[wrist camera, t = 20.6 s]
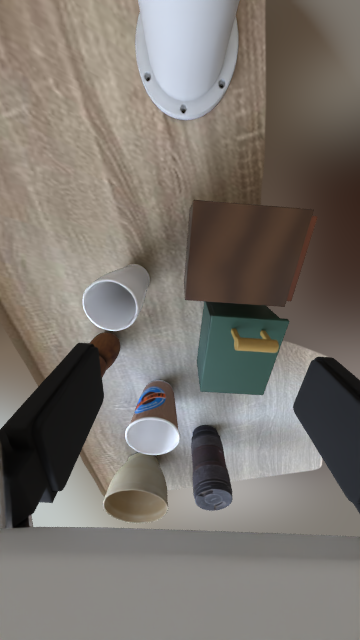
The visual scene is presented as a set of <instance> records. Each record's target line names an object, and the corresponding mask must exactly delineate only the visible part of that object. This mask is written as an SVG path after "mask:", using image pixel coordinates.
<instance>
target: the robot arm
mask: <svg viewBox="0 0 360 640" xmlns="http://www.w3.org/2000/svg"><path fill="white" fill-rule="evenodd" d="M239 1H240V0H138V2H139V8H140V13H139V17H138V22H137V27H136V40H135V47H136V59H137V63H138V68H139V72H140V76H141V79H142V82H143V85H144V87H145V89H146V91H147V93H148V95H149V96H150V98H151V100H152V101H153V103H154V104H155V105H156V106H157V107H158V108H159V109H160V110H161V111H163V112H164V113H166V114H167V115H168V116H171V117H173V118H176V119H181V120H192V119H196V118H199V117H202V116H203V115H205V114H207V113H208V112H210V111H211V110H212V109H213V108H214V107H215V106H216V105H217V104H218V103H219V101H220V100H221V99H222V97H223V96H224V94H225V92H226V90H227V88H228V86H229V84H230V81H231V79H232V76H233V73H234V69H235V65H236V62H237V54H238V26H237V19H236V12H237V8H238V5H239ZM147 79H150V81H147ZM219 86H222V87H223V88H220V87H219ZM182 110H184V111H185V113H182ZM103 398H104V392H103V384H102V375H101V367H100V359H99V350H98V348H97V347H94V345H93V344H90V343H78V344H77V345H76V346H75V347H74V348H73V349H72V350H71V351H70V353H69V354H68V355H67V356H66V357H65V358H64V359H63V360H62V361H61V363H60V364H59V365H58V366H57V367H56V368H55V369H54V370H53V372H52V373H51V374H50V375H49V376H48V377H47V378H46V379H45V380H44V381H43V382H42V383H41V385H40V386H39V387H38V388H37V389H36V390H35V391H34V392H33V394H32V395H31V396H30V397H29V398H28V399H27V400H26V401H25V402H24V403H23V405H22V406H21V407H20V408H19V409H18V410H17V411H16V412H15V414H14V415H13V416H12V417H11V418H10V419H9V420H8V421H7V423H6V424H5V425H4V426H3V427H2V428H1V429H0V640H360V537H354V536H331V535H304V534H278V533H253V532H226V531H196V530H165V529H164V530H163V529H133V528H94V527H86V528H85V527H82V528H81V527H33V523H32V516H31V514H33V513H34V511H35V509H36V507H37V505H38V504H39V502H49V503H53V500H54V498H55V496H56V494H57V492H58V491H62V490H63V488H64V487H65V485H66V483H67V481H68V479H69V476H70V474H71V472H72V470H73V467H74V465H75V463H76V461H77V458H78V456H79V454H80V452H81V450H82V447H83V445H84V443H85V441H86V438H87V436H88V434H89V432H90V429H91V427H92V425H93V423H94V421H95V418H96V416H97V414H98V412H99V409H100V407H101V405H102V402H103ZM293 408H294V412H295V414H296V416H297V417H298V419H299V421H300V422H301V424H302V426H303V427H304V429H305V430H306V432H307V434H308V435H309V437H310V439H311V440H312V442H313V443H314V445H315V447H316V448H317V450H318V452H319V453H320V455H321V456H322V458H323V460H324V461H325V463H326V464H327V466H328V468H329V469H330V471H331V473H332V474H333V476H334V478H335V479H336V481H337V483H338V484H339V486H340V487H341V489H342V491H343V492H344V494H345V495H346V497H347V498H348V500H349V501H351V502H352V503H353V504H354V505H355V507H356V508H357V510H358V512H359V513H360V380H359V379H357V378H356V377H355V376H354V375H353V374H352V373H350V372H349V371H348V370H347V369H346V368H345V367H343V366H342V365H341V364H340V363H339V362H337V361H336V360H335V359H334V358H329V357H317V358H315V359H314V360H313V361H311V363H310V365H309V368H308V370H307V373H306V375H305V378H304V380H303V383H302V385H301V388H300V390H299V392H298V395H297V397H296V400H295V402H294V405H293Z"/></svg>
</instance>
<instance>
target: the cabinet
mask: <svg viewBox="0 0 360 640" xmlns="http://www.w3.org/2000/svg"><path fill="white" fill-rule="evenodd" d="M313 211H314V210H312V209H299V208H286V207H275V206H263V205H250V204H238V203H225V202H213V201H201V200H194V201H193V203H192V205H191V207H190V213H189V225H188V238H187V251H186V263H185V276H184V289H185V300H193V301H208V302H222V303H237V304H252V305H266V306H281V307H284V306H285V304H286V301H287V297H288V294H289V291H290V287H291V284H292V281H293V277H294V274H295V271H296V268H297V264H298V261H299V258H300V254H301V251H302V248H303V244H304V241H305V238H306V234H307V231H308V228H309V225H310V221H311V218H312V215H313Z"/></svg>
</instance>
